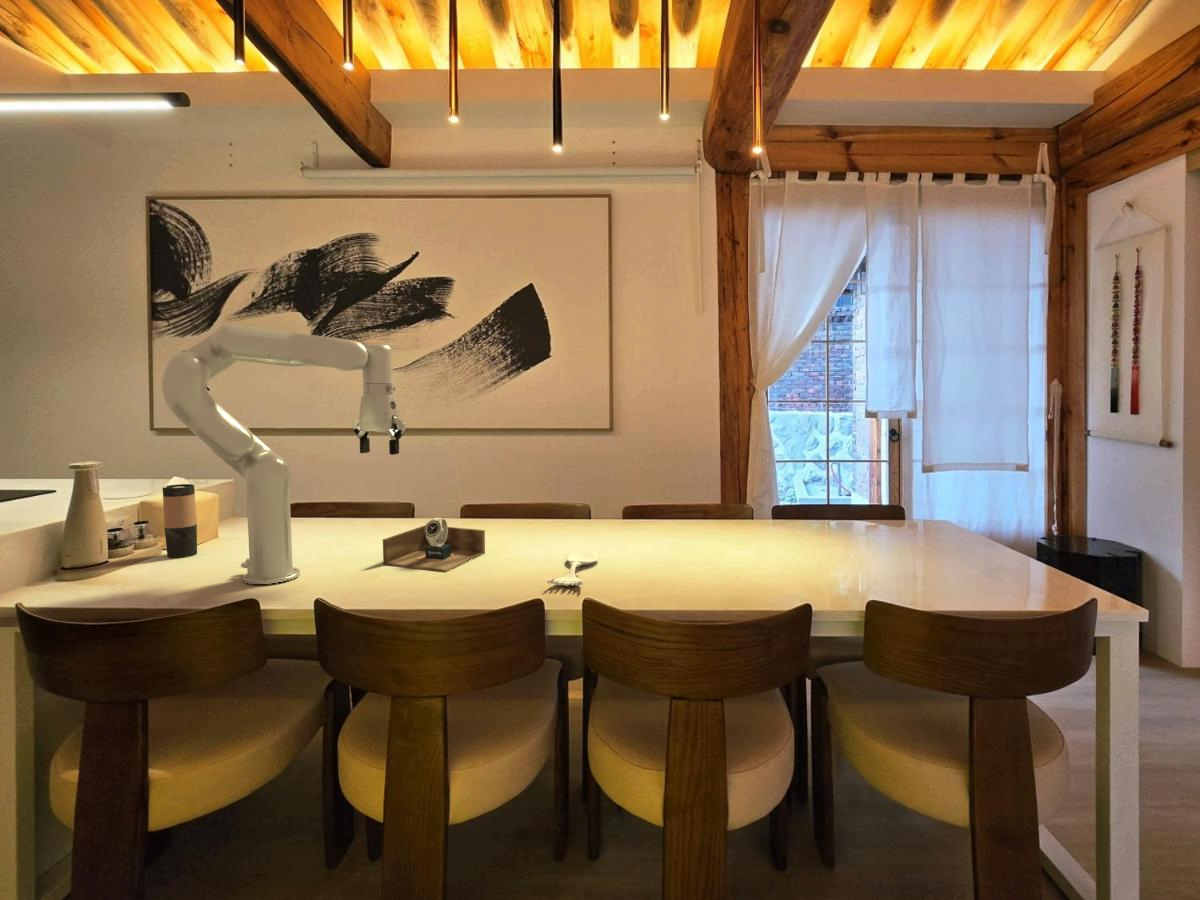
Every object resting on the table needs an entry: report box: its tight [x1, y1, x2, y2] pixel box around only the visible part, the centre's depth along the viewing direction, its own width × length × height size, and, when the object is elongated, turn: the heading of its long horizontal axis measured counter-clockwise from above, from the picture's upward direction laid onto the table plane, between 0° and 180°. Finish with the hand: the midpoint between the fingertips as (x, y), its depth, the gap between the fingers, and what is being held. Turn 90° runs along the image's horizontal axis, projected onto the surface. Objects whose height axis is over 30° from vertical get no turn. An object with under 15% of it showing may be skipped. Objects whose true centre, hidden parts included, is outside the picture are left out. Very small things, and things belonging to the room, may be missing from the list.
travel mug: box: [162, 483, 198, 559], centre depth 177 cm, size 8×8×20 cm
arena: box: [382, 524, 486, 572], centre depth 175 cm, size 20×20×7 cm
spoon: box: [546, 549, 600, 587], centre depth 162 cm, size 9×32×4 cm, turn 172°
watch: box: [424, 517, 451, 560], centre depth 174 cm, size 6×8×11 cm
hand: (379, 453), depth 169 cm, fingers open, 9 cm apart
